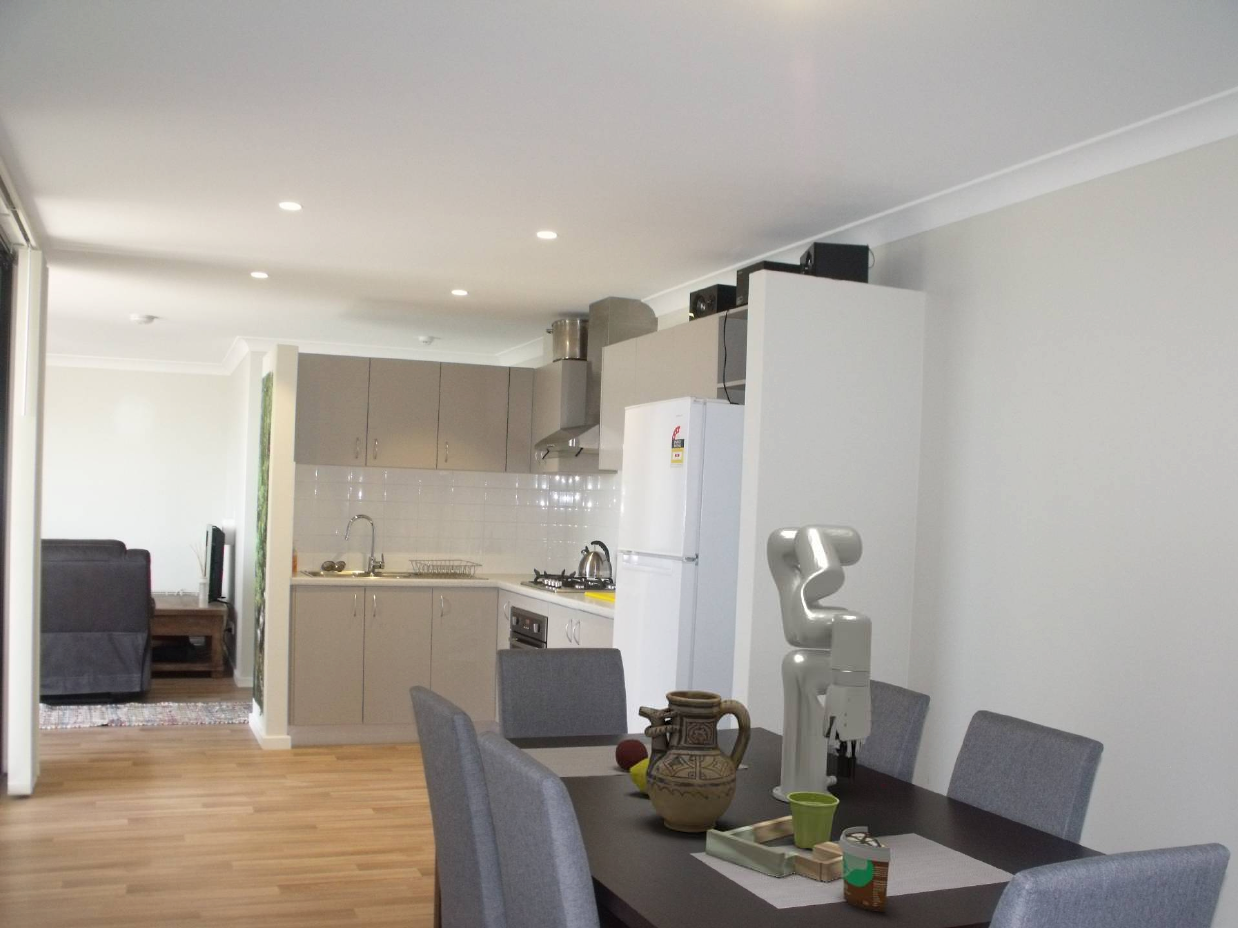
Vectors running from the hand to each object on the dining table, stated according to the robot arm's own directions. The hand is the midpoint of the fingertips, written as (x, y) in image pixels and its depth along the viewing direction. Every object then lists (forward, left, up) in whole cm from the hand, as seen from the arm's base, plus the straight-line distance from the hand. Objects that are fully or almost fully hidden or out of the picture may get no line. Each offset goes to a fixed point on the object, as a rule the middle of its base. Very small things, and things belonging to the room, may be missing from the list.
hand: (846, 776), depth 212 cm
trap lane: (+16, +2, -11) cm, 20 cm away
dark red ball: (-3, -61, -12) cm, 62 cm away
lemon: (+9, -42, -12) cm, 44 cm away
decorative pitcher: (+20, -22, -12) cm, 31 cm away
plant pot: (+10, -1, -12) cm, 15 cm away
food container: (+28, +21, -12) cm, 37 cm away
